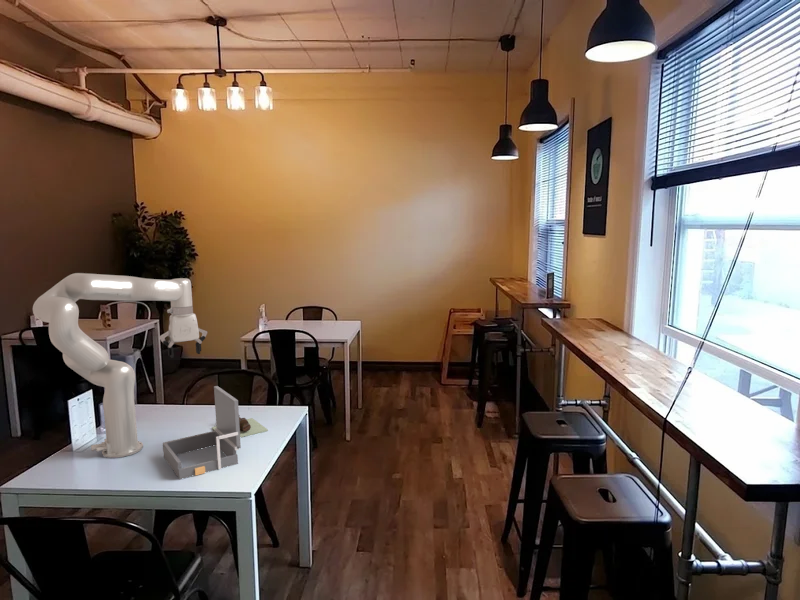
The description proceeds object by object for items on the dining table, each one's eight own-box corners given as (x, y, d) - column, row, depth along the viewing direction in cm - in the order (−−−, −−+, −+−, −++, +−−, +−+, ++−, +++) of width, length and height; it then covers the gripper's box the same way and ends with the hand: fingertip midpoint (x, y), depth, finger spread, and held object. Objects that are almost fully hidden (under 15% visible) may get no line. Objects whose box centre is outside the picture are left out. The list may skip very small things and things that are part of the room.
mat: (225, 441, 192) (225, 439, 192) (211, 428, 204) (211, 427, 204) (267, 430, 201) (267, 429, 201) (252, 419, 214) (252, 418, 214)
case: (180, 480, 162) (175, 413, 159) (163, 456, 179) (158, 396, 176) (242, 463, 173) (238, 400, 170) (220, 442, 190) (217, 385, 188)
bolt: (245, 438, 197) (229, 425, 209) (256, 428, 200) (240, 417, 211) (237, 427, 195) (221, 415, 206) (248, 417, 197) (232, 406, 208)
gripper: (159, 314, 194) (163, 360, 196) (208, 309, 204) (211, 353, 206) (155, 312, 200) (158, 357, 202) (202, 307, 210) (205, 350, 212)
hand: (185, 355), depth 204 cm, fingers open, 9 cm apart
